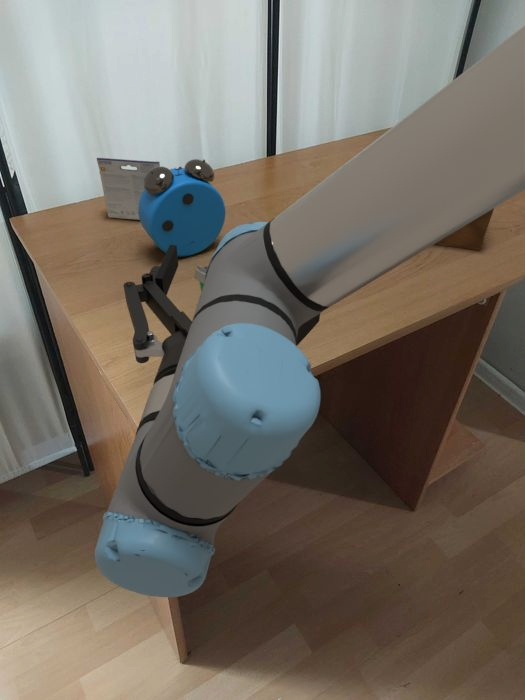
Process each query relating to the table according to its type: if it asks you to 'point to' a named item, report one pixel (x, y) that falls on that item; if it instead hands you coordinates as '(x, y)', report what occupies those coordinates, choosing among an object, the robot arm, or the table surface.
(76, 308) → the table surface
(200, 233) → the alarm clock
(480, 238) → the wooden box
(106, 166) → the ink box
